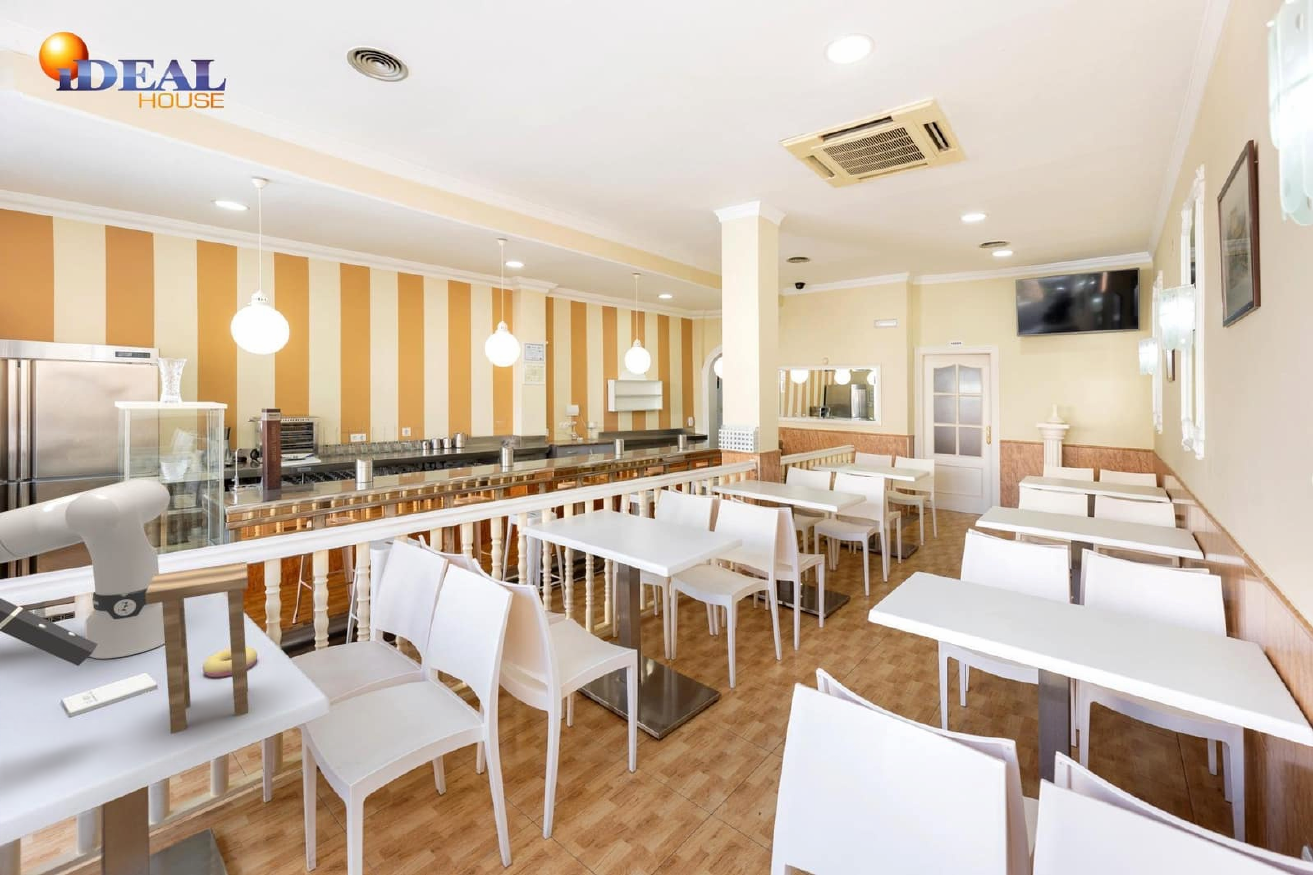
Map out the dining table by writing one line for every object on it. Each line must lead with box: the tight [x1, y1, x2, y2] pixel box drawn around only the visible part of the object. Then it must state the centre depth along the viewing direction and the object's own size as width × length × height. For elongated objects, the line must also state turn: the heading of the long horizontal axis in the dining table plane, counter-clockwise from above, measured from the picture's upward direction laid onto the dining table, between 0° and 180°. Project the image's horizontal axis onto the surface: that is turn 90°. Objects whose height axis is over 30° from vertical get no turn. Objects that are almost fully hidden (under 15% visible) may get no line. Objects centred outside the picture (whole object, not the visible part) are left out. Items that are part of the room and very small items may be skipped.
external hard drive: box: [60, 672, 158, 718], centre depth 111 cm, size 2×8×12 cm
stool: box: [145, 561, 249, 734], centre depth 105 cm, size 12×14×26 cm
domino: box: [0, 597, 98, 667], centre depth 89 cm, size 4×24×3 cm
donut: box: [202, 646, 258, 678], centre depth 122 cm, size 10×5×9 cm
